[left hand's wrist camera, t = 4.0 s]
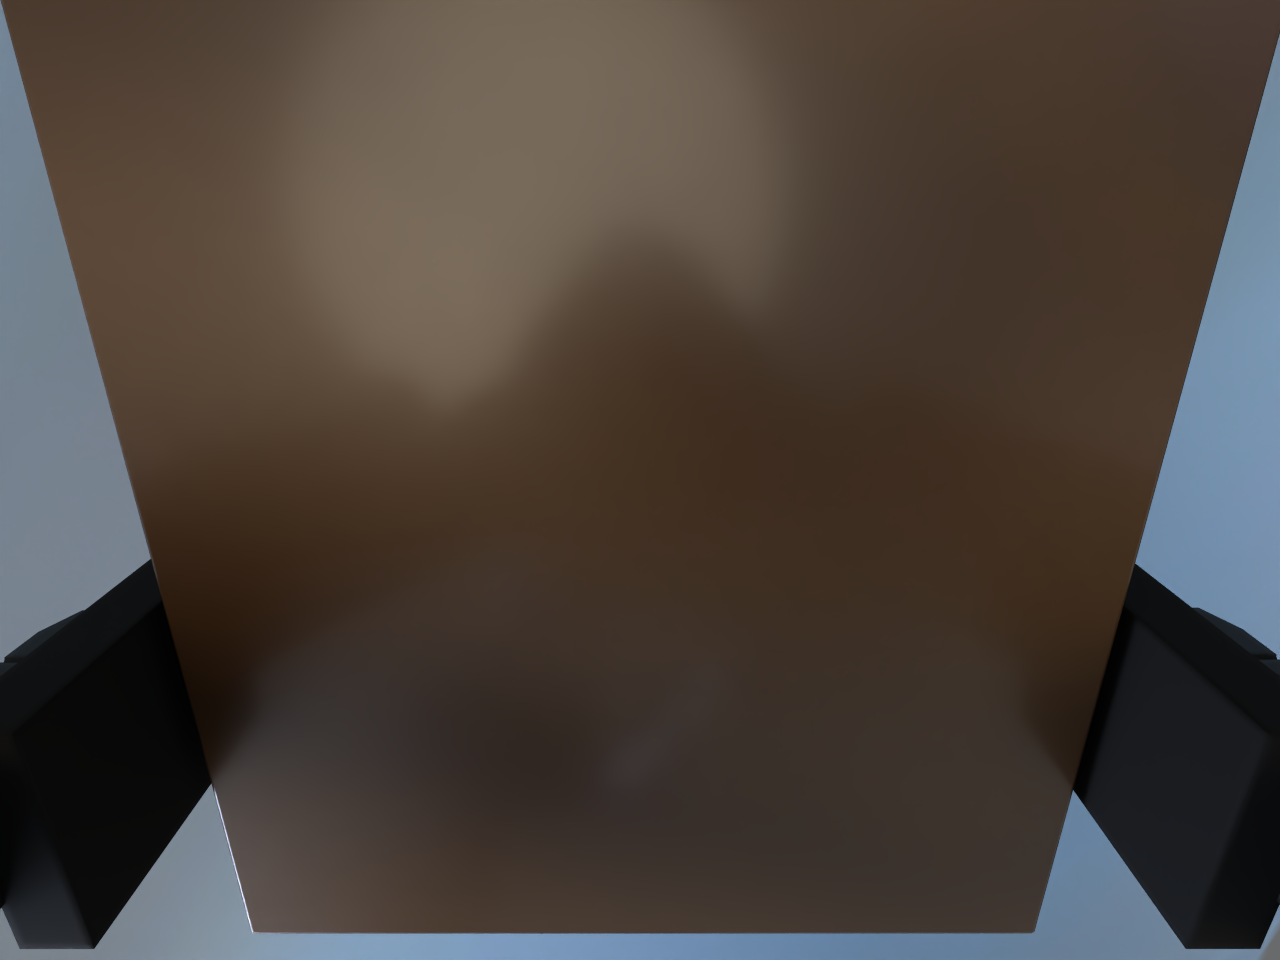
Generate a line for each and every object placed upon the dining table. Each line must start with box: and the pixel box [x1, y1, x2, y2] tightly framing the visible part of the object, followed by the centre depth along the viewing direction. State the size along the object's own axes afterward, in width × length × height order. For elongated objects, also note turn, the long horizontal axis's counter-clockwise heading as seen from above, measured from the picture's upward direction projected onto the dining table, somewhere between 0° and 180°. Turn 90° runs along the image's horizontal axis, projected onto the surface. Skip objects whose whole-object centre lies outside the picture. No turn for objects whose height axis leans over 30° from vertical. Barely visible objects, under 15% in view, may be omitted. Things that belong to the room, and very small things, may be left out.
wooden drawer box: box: [1, 0, 1280, 933], centre depth 11 cm, size 21×11×11 cm, turn 0°
